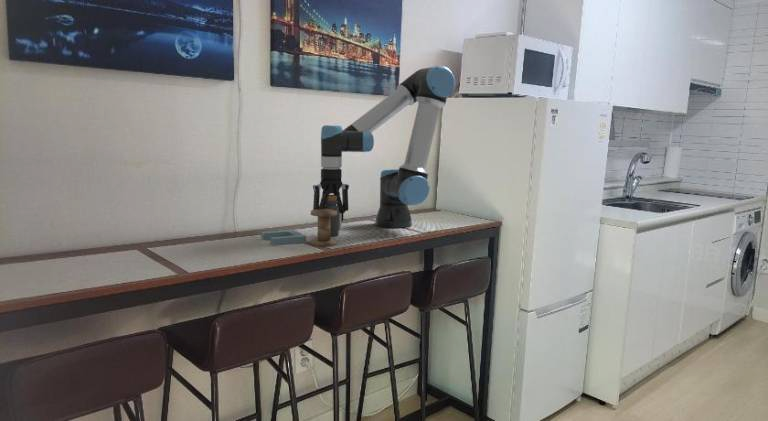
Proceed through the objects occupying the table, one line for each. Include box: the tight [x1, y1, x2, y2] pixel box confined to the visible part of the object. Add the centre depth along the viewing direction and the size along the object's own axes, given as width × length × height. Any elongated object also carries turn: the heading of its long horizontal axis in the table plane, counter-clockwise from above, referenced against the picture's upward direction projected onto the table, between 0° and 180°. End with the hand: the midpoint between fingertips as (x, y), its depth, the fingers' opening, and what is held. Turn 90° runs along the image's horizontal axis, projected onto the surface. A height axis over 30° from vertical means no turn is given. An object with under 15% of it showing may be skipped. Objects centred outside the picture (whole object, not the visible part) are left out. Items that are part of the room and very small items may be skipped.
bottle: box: [325, 194, 340, 238], centre depth 201 cm, size 6×6×15 cm
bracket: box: [260, 229, 308, 247], centre depth 191 cm, size 12×13×2 cm
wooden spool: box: [310, 209, 338, 247], centre depth 187 cm, size 9×9×11 cm
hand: (330, 230), depth 201 cm, fingers closed on bottle, 6 cm apart
